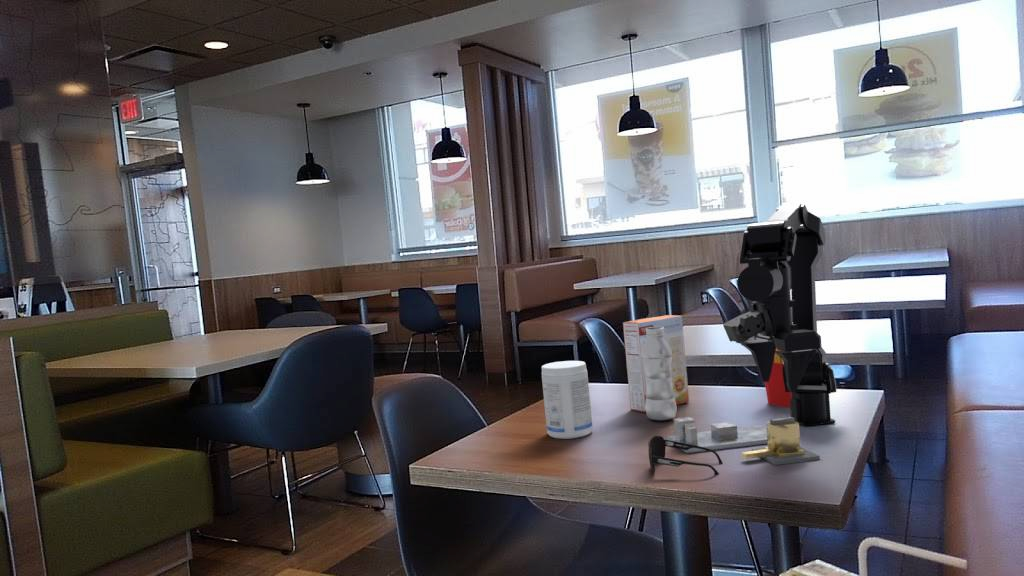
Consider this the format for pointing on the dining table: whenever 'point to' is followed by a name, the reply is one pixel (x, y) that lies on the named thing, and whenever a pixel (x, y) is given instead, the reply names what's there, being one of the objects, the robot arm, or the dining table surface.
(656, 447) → the sunglasses
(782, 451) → the gold rounded piece
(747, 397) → the dining table surface
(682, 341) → the cracker box
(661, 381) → the plastic bottle
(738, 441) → the lock base
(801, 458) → the mat
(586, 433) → the supplement tub
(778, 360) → the french fries
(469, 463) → the dining table surface
